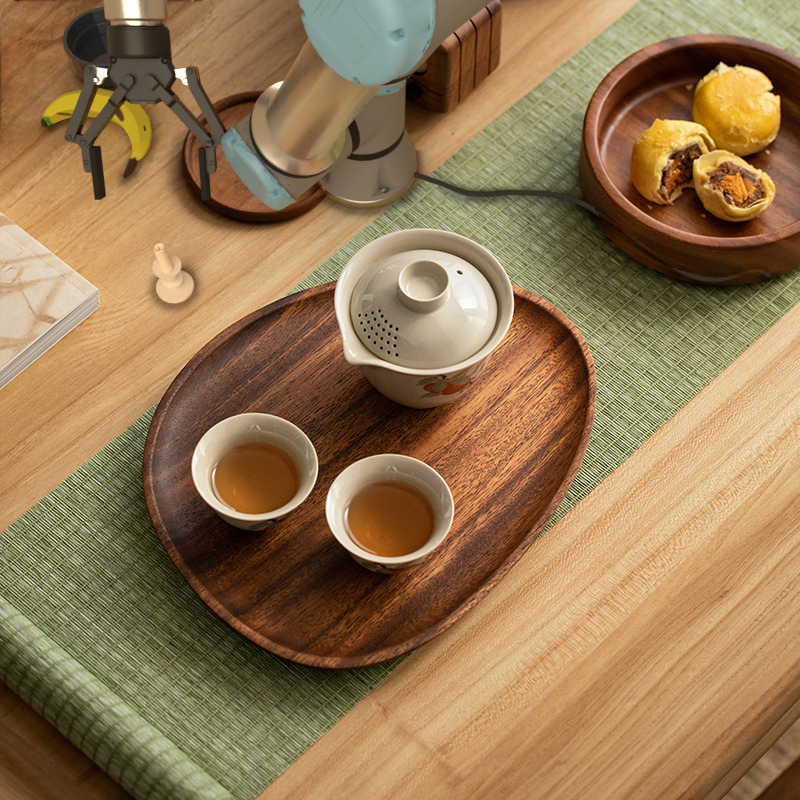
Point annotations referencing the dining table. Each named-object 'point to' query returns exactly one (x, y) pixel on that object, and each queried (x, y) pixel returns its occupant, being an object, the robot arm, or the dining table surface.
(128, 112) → the banana
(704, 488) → the dining table surface
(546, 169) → the dining table surface
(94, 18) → the bowl
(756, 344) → the dining table surface
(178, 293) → the candle
